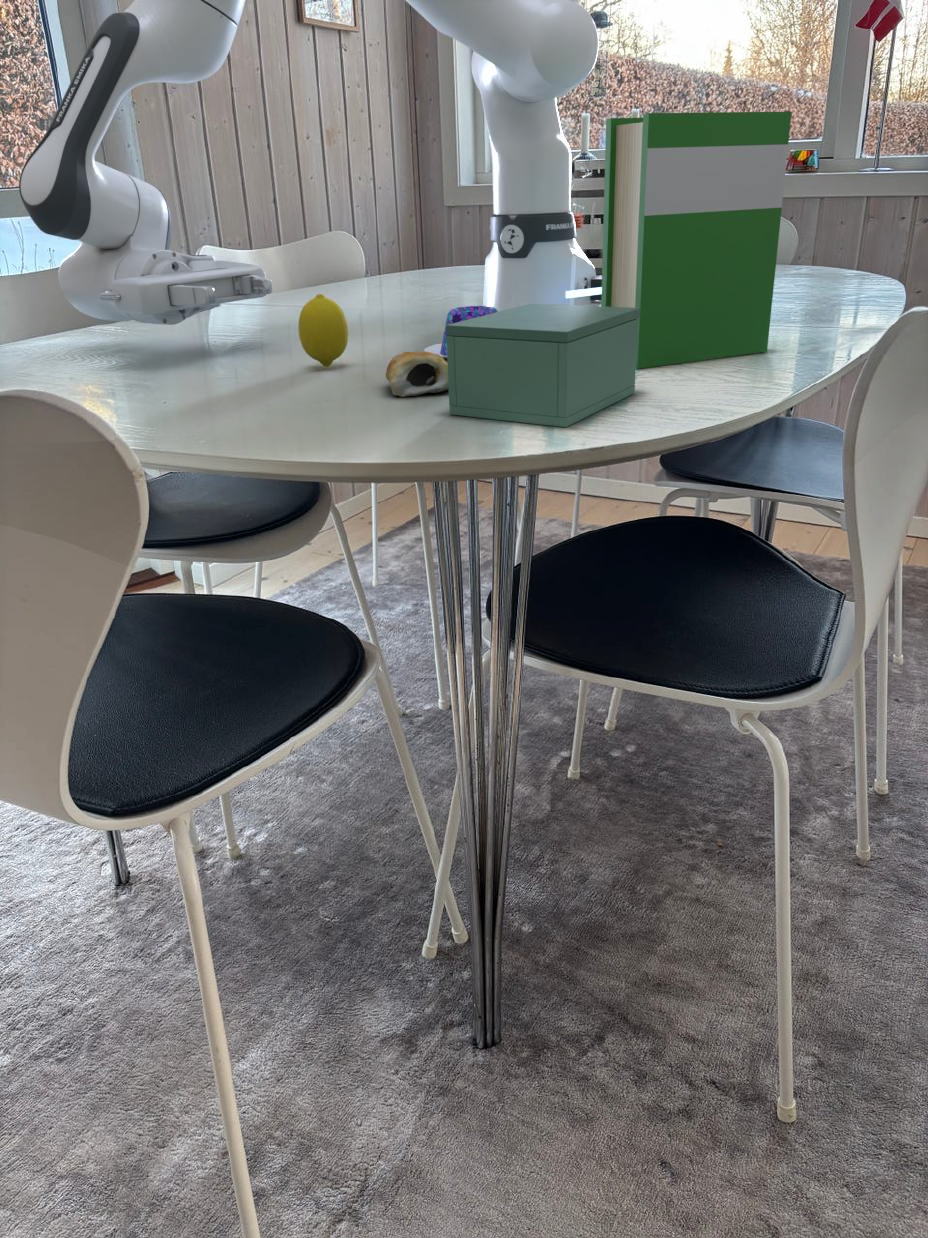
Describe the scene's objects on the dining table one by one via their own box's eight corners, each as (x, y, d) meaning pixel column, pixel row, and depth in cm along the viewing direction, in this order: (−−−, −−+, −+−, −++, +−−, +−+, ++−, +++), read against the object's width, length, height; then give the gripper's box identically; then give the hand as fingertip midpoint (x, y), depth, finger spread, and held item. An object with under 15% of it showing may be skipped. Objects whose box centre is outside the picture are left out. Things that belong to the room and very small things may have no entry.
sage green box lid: (529, 312, 91) (529, 303, 90) (640, 317, 85) (640, 307, 85) (446, 335, 79) (445, 325, 79) (567, 342, 74) (567, 331, 73)
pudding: (415, 364, 106) (412, 316, 103) (434, 346, 116) (432, 302, 114) (519, 363, 104) (518, 314, 101) (529, 345, 114) (529, 301, 112)
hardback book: (637, 368, 98) (648, 112, 88) (599, 358, 104) (606, 118, 94) (767, 351, 105) (791, 111, 94) (724, 343, 111) (743, 116, 101)
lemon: (342, 371, 103) (335, 296, 100) (295, 371, 104) (287, 296, 101) (357, 362, 108) (351, 290, 105) (312, 362, 109) (305, 291, 106)
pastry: (381, 380, 97) (378, 343, 96) (444, 376, 98) (442, 339, 97) (391, 398, 89) (389, 358, 87) (460, 394, 90) (459, 354, 88)
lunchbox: (527, 383, 93) (527, 313, 90) (635, 393, 88) (638, 318, 85) (449, 414, 82) (446, 335, 79) (565, 427, 77) (567, 343, 74)
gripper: (84, 267, 106) (166, 270, 99) (215, 254, 122) (294, 255, 115) (95, 324, 109) (176, 330, 102) (222, 304, 124) (300, 308, 117)
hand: (240, 290), depth 108 cm, fingers open, 8 cm apart
